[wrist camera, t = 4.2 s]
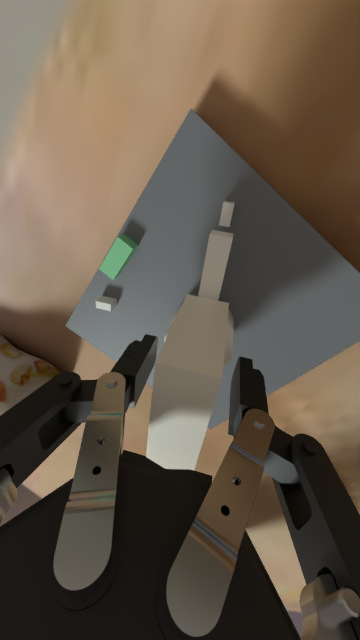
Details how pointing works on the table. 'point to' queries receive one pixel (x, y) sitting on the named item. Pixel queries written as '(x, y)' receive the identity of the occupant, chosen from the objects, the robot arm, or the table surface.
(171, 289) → the dial board
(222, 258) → the peg knob
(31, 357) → the mug
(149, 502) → the robot arm
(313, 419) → the table surface
